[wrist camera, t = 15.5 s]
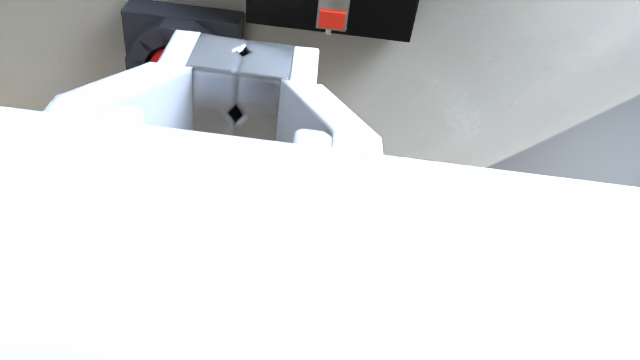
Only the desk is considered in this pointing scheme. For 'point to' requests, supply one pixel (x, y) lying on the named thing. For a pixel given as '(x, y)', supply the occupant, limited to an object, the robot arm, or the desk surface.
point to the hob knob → (332, 14)
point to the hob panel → (363, 20)
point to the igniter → (171, 26)
